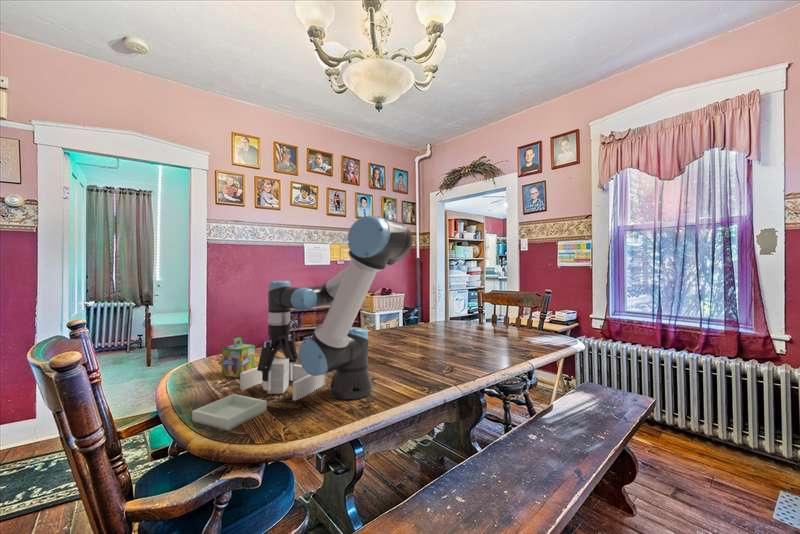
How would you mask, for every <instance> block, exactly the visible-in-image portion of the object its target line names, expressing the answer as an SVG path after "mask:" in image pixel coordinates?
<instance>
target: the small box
mask: <svg viewBox="0 0 800 534" xmlns="http://www.w3.org/2000/svg"><path fill="white" fill-rule="evenodd" d="M269 371H271V390H270V391H268V390H267V394H268V395H274V394H275V395H277V394H281V393H282V394H284V393H285V391H286V390H287V389H288V387H289V383H290V382H289V381H290V380H289V358H286V357H274V359H273V362H272V365H271V367H270V370H269ZM282 394H281V395H282Z"/></svg>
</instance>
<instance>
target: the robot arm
mask: <svg viewBox="0 0 800 534" xmlns="http://www.w3.org/2000/svg"><path fill="white" fill-rule="evenodd" d="M346 240H347V241H348V243H347V246H348V249H349V251H348V257H349V258H350V262H349V263H348V266H346V267H345V268H343V270H341V271H339V272H338V273H337V274H336V275H335V276H333V277H332V278H330V279H329V280H327V282H325V283H323V284H322V285H319V286H305V287H304V286H302V287H301V286H300V287H296V286H294V287H292V284H291V281H289V280H272V281H270V282H269V283H268V292H267V298H268V301H267V302H268V303H267V304H268V305H267V306H268V312H267V314H268V315H267V322H268V324H267V334H268V336H269V339H268V340H266V341H264V340H263V341H262V343H261V352H260V356H259V360H258V364H257V367H258V368H257V370H258V371H262V380H263V382H262V389H263V390H264V391H267V392H268V391H270V390H271V371H269V370H270V367H271V365H272V362H273V359H274V358H276V357H275V356H276V354H277V353H278V351H280V350H281V351H282V353H283V354H284V358H289V381H291V380H293V364H294V363H296V362H297V360H299V363H300V365H302V367H303V369H304V370H305V371H306V372H307V373H308V374H310V375H312V376H318V375H324V374H325V375H326V374H328V373H330V372H334V373H333V376H332V379H331V383H330V385H329V394H330V396H331V397H333V398H334V399H340V400H345V399H353V400H359V399H358V398H360V399H363V397H364V398H366V397H369V396H370V395H371V394H372V393H371V392H373V383H372V378H371V376H370V373H369V366H368V365H369V332H368V330H367V329H366V328H364V327H356V326H355V327H354V326H353V325H354V322H355V320H356V318H357V316H358V313H359V312H360V310H361V307H362V305H363V303H364V301H365V299H366V297H367V295H368V292H369V291H370V289H371V286H372V284H373V282H374V279H375V277H376V275H377V274H378V272H381V271H384V270H385V268H386V266H389V267H391V266H393V265H394V264H396V263H397V262H399V261H400V260H401V259H403V258H404V257H405V256H407V255H408V253H409V252H410V250H411V248H412V246H413V235H412V232H411V230H410V228H409V227H408V226H407V225H406V224H404V223H403V222H401V221H398V220H393V219H392V220H391V219H389V218H386V217H385V218H384V217H380V216H377V215H373V216H371V215H366V216H362V217H360V218H358V219H357V220H355V222H353V223H352V225H351V226H350V228H349V231H348V233H347V238H346ZM319 307H329V309H328V312H327V313H326V316H325V319H324V320H323V323H321V324H319V325H317V326H316V327H315V328H314V331H313V332H312V336H311V337H310V338H306V339H305V340H303V341H302V342H301V343H300V344H299V347H298V353H297V349H296V343H295V335H294V334H290V333H291V324H290V322H291V309H292V310H297V311H310V310H311V309H313V308H319ZM266 367H267V368H266ZM370 393H371V394H370ZM369 394H370V395H369ZM365 396H366V397H365Z"/></svg>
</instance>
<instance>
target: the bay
mask: <svg viewBox="0 0 800 534" xmlns="http://www.w3.org/2000/svg"><path fill="white" fill-rule="evenodd" d="M257 368H258V366H256V367H255V368H253V369H250V370H247V371H244V372H242V373H240V378H239V380H240V381H239V386H240V387H239V390H240V389H241V391H245V390H248V389H250V388H252V387H254V385H255V386H257V385H259V384H261V383H262V384H263V380H262V371H258V370H257ZM266 368H267V367H266ZM290 381H292V401H294V400H295V401H294V402H297V401H299V400H300V398H301V399H302V398H304V397H306V396H308V395H309V393H310V394H312V393H313V392H315V391H317V390H318V388H319V389H320V388H322V387H324V386H326V374H324V375H318V376H312V375H310V374H308V373H307V372H306V371H305V370H304V369H303V367H302V365H301V364H294V363H293V380H290ZM323 385H324V386H323ZM316 389H317V390H316ZM314 390H315V391H314ZM307 394H308V395H307ZM298 399H299V400H298ZM296 400H297V401H296Z"/></svg>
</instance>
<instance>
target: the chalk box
mask: <svg viewBox="0 0 800 534" xmlns="http://www.w3.org/2000/svg"><path fill="white" fill-rule="evenodd" d="M238 341H239V343H237V342H238ZM221 349H222V350H221V351H222V355H221V356H222V360H221V362H222V363H221V364H222V367H221V369H222V370H221V376H224V378H226V377H228V378H238V379H240V373H242V372H244V371H247V370H250V369H253V368H256V367H255V366H256V362H255V361H256V345H255V344H248V343H243V341H242V337H236V338H233V344H230V345H228V346H225V347H222V348H221Z"/></svg>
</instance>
